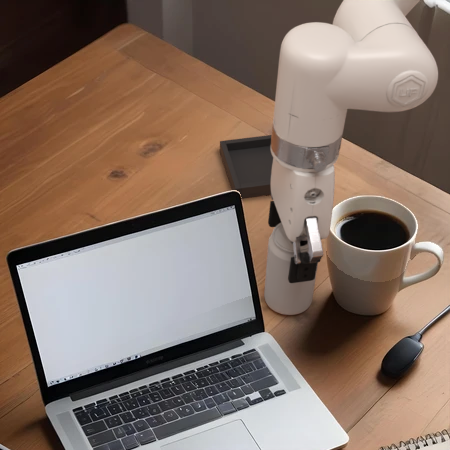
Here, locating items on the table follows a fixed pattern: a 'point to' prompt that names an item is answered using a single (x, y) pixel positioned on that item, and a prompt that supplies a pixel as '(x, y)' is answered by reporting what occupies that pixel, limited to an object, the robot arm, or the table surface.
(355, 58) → the robot arm
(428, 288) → the table surface
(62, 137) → the table surface
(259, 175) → the coaster
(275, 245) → the beverage can
